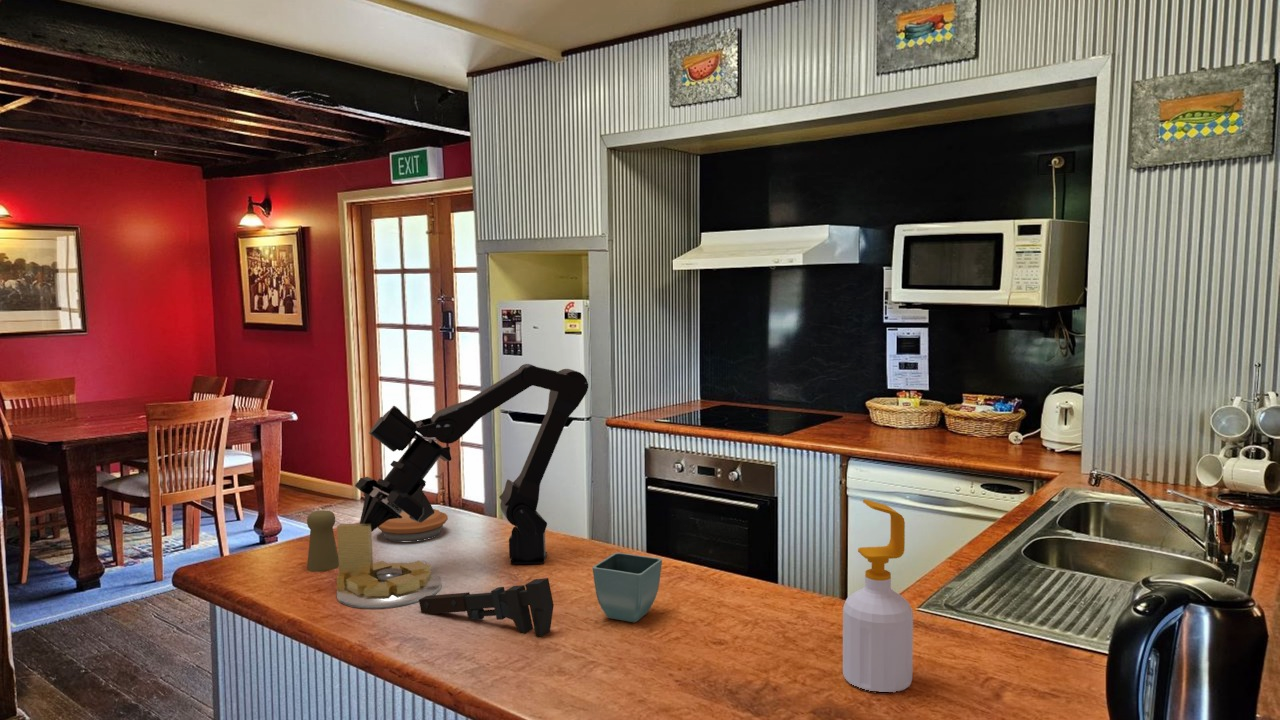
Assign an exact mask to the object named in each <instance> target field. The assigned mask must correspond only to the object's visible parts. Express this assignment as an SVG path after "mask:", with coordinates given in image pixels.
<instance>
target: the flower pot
mask: <svg viewBox="0 0 1280 720" xmlns="http://www.w3.org/2000/svg"><path fill="white" fill-rule="evenodd" d="M662 563H663V559H662V558H659V557H653V556H646V555H645V556H644V555H637V554H631V553H625V552H624V553H623V552H615V553H612V554H610V556H609V555H608V557H606V558H605V559H603V560H602V561H600V562H598V563H597V564H595V565H594V566H592V574H593V581H594V582H593V583H594V588H595V594H596V598H597V601H598V604H599V606H600V608H601V610H602V611H603V613H604V614H605V615H606V617H607V618H608V619H611V620H618V621H623V622H629V623H637V622H638V621H640V619H642V618H643V617H644V616H645V615H647V614H648V613H649V611H650V610H651V608H652V606H653V604H654V603H655V600H656V597H657V595H658V591H659V587H660V582H661V581H660V580H661V572H662Z"/></svg>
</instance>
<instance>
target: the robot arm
mask: <svg viewBox="0 0 1280 720" xmlns="http://www.w3.org/2000/svg"><path fill="white" fill-rule="evenodd" d="M533 386H534V387H537V388H541V389H545V390H549V393H548V405H547V410H546V412H545V415H544V417H543V420H542V421H541V425H540V427H539V429H538V432H537V434H536V436H535V439H534V441H533V443H532V445H531V448H530V450H529V453H528V456H527V457H526V460H525V462H524V465H523V466H522V469H521V472H520V473H519V475H518V476H517V478H515V480H514V481H512V480H510V479H509V478H508V479H507V480H506V482H505V485H504V490H503V491H502V493H501V494H500V495H499V497H498V498H499V499H500V503H499V504H500V505H499V506H500V510H501V513H502V515H503V516H504V517H505V518H506V521H507V522H509V524H510V525H512V526H513V528H512V530H511V535H510V536H509V538H508V551H509V552H508V554H509V560H510V564H511V565H543V564H545V562H546V558H547V556H548V551H546V529H547V526H548V522H547V521H546V520H545V519H544V517H542V515H541V514H540V513H539V511H537V508H538V503H539V500H540V498H539V497H540V490H541V489H540V488H541V483H542V481H543V478H544V476H545V473H546V471H547V468H548V466H549V463H550V461H551V459H552V456H553V454H554V452H555V449H556V447H557V444H558V442H559V441H560V438H561V435H562V433H563V430H564V428H565V427H566V423H567V421H568V419H569V417H570V416H571V415H572V414H573V413H574V411H575V410H576V409H577V408H578V407H579V405H580V404H581V402H582V400H583V399H584V398H585V395H586V394H587V392H588V389H589V383H588V379H587V377H586V376H585V375H584V374H583V373H581V372H579V371H576V370H574V369H570V368H564V369H560V370H558V371H557V370H553V369H548V368H544V367H541V366H540V367H538V366H535V365H533V364H530V363H524V364H522V365H520V366H519V367H518V369H516V370H515V371H513V372H511V373H510V374H508V375H506V376H505V377H503V378H502V379H499V381H497V382H495V383H493V384H492V385H490V386H488V387H487V388H485V389H483V390H482V391H481V392H479V393H478V394H475V395H474V396H472V397H471V398H468V399H467V400H465V401H462V402H458V403H455V404H452V405H450V406H447V407H444V408H442V409H439V410H437V411H436V412H435V413H433V414H432V416H431V417H428V418H424V419H419V420H416V421H413V420H412V419H411V418H409V416H407V415H405V413H403V412H402V411H401V409H400V408H399V407H397V406H395V405H392V406H391V408H390V409H389V410H388V411H387V412H385V413H384V414H383V415H382V416H380V417H379V418H378V419H377V421H376V422H375V423H374V425H373V426H372V427H371V429H370V431H369V432H368V434H369V435H370V436H372V437H373V438H374V439H376V441H379V442H380V443H381V444H382V445H384V446H385V447H387V449H389V450H390V451H391V452H396V451H397V450H398V451H401V452H403V451H404V450H405V449H406V450H405V451H404V452H403V454H402V456H401V457H400V458H399V459H398V461H396V460H393V461H392V462H391V463H390V466H391V467H392V468H391V469H390V471H389V472H388V474H387V475H386V476H385V477H384V479H382V478H379V479H378V480H375V479H374V478H372V477H369V476H365V477H361V478H359V480H358V481H357V482H356V484H354V487H355V488H356V489H358V490H359V491H360V492H362V493H363V496H364V500H363V507H362V510H361V511H362V512H361V517H360V519H359V524H371V533H372V532H374V531H375V530H376V529H378V527H379V526H380V525H381V524H383V523H384V522H386V521H387V520H389V519H395V518H399V519H400V518H402V516H401V515H400V514H401V512H402V511H404V512H405V513H407V514H408V515H409V516H410V517H409V518H411V519H412V520H414V521H417V522H418V521H419V522H420V523H422V522H423V521H424V520H426V519H427V518H428V517H430V516H431V515H432V514H434V513H435V512H434V510H433V509H434V508H433V506H432V504H431V503H430V501H429V499H428V497H427V495H426V494H425V493H424V491H423V490H424V488H425V486H426V484H427V481H426V480H424V479H425V477H427V475H428V473H429V472H430V471H431V470H432V468H433V467H434V466H435V464H436V463H437V461H439V459H441V460H442V461H444V462H451V461H452V455H451V447H450V446H444V447H443V446H442V445H440V443H443V444H449V445H450V444H453V443H455V442H457V441H458V440H460V439H461V438H462V437H463V436H464V435H465V434H467V432H469V430H471V428H472V427H474V425H475V424H476V423H477V422H478V421H479V420H480V419H481V418H483V416H486V415H488V413H490V412H492V411H494V410H495V409H497V408H499V407H500V406H501V405H503V404H504V403H506V402H508V401H509V400H511V399H513V398H514V397H516V396H517V395H519V394H521V393H522V392H524V391H526V390H527V389H529V388H530V387H533ZM425 438H430V439H428V440H427V439H425ZM434 439H436V440H437V441H438V442H440V443H438V442H437V441H436V440H434ZM412 441H413V442H412ZM411 442H412V443H411ZM410 443H411V444H410ZM408 446H409V447H408ZM407 447H408V448H407Z"/></svg>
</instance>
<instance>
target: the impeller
mask: <svg viewBox="0 0 1280 720" xmlns="http://www.w3.org/2000/svg"><path fill="white" fill-rule="evenodd" d="M376 574H377V579H378V582H387V581H386V579H390V578H394V577H398V576H402V570H401V569H397V568H389V569H384V570H380V571H378V572H377V573H376ZM431 574H432V578H431V579H430V581H429V582H428V583H427V584H426V585H425V586H420V589H417V590H413V591H410V592H406V593H402V594H399V595H396V594H394V593H393V592H392V593H391V594H390V595H389V596H364V594H360V595H357V594H355V593H353V592H351V591H350V590H348V589H347V584H345V575H339V574H337V576H336V598H337V602H339V603H341V604H343V605H345V606H347V607H350V608H356V609H363V610H364V609H365V610H378V609H380V610H384V609H393V608H400V607H404V606H409V605H413V604H417V603H419V599H421V598H423V597H425V596H431V595H437V594H438V593H439V591H440V590H441V588H442V578H441V576H440V575H439V574H437V573H435V572H433V571H431Z"/></svg>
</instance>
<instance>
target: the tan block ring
mask: <svg viewBox="0 0 1280 720" xmlns="http://www.w3.org/2000/svg"><path fill="white" fill-rule="evenodd" d="M336 535H337V553H338V560H339V567H338V575H345V584H347V589H348V590H350V591H351V592H353V593H355V594H357V595H360V594H364V596H389V595H390V594H391V593H392V592H393V593H394V594H396V595H399V594H402V593H406V592H410V591H413V590H417V589H420V586H425V585H426V584H427V583H428V582H429V581H430V579H431V578H432V574H431V572H432V571H431V565H429V564H427V563H424V562H422V561H420V560H416V561H412V562H390V563H388V562H386V561H384V560H381V561H376V562H374V561H373V560H374V559H373V558H374V557H373V537H372V535H373V534H372V532H371V524H360V523H339V524H338V525H337V526H336ZM389 568H397V569H401V570H402V576H398V577H394V578H390V579H386V581H387V582H378V579H377V574H376V573H377V572H378V571H380V570H384V569H389Z"/></svg>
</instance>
